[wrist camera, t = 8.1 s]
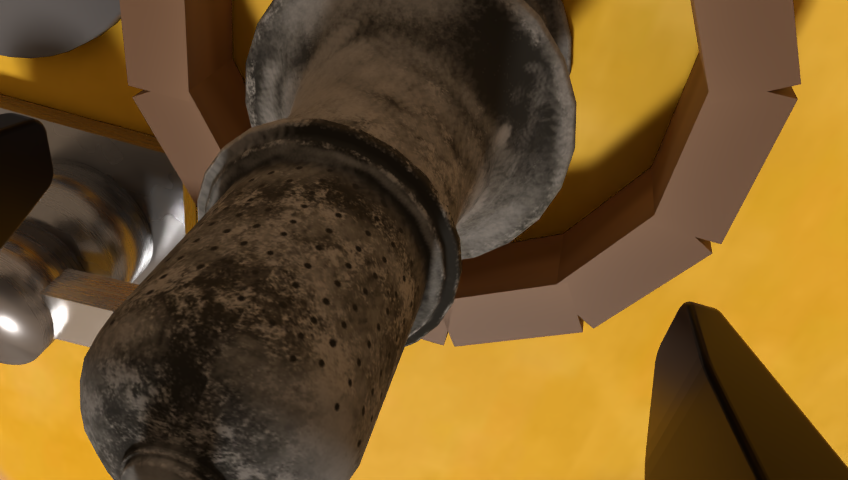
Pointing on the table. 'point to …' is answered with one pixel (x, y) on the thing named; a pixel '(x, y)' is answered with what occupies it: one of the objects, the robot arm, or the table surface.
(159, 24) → the socket ring
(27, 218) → the pivot block
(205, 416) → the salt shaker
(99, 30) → the pad
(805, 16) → the table surface
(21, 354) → the clamp
